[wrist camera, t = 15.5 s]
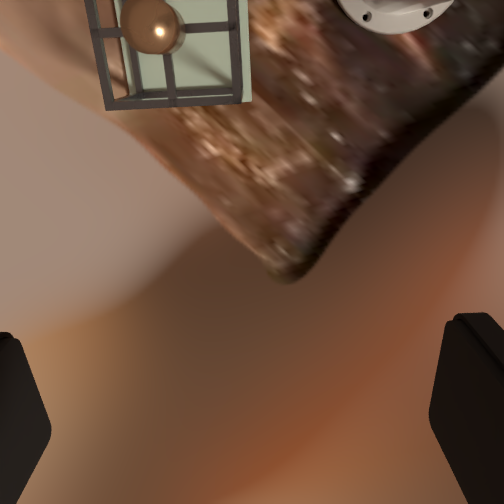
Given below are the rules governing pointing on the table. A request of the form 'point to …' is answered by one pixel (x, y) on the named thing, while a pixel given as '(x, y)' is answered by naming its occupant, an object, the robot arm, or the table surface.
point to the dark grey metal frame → (163, 53)
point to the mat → (195, 52)
